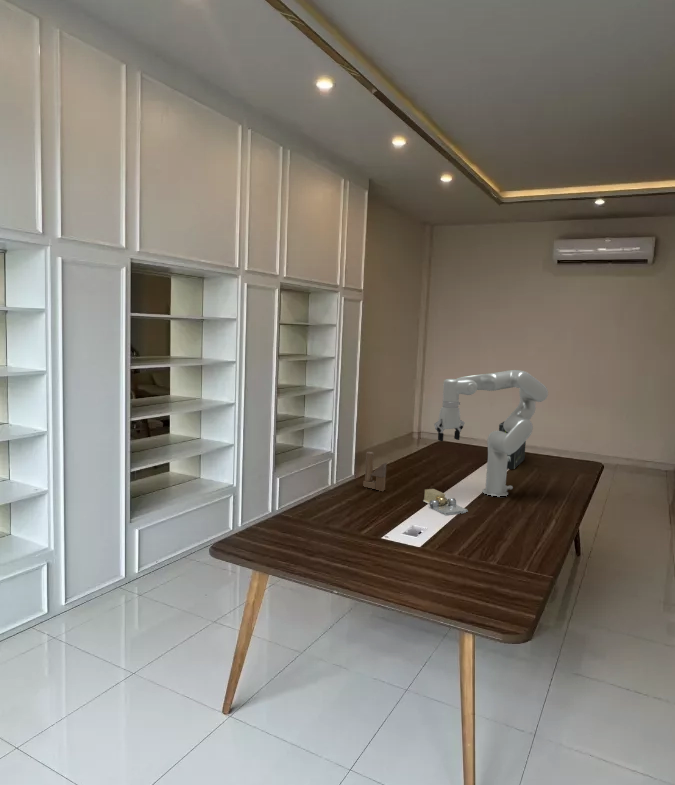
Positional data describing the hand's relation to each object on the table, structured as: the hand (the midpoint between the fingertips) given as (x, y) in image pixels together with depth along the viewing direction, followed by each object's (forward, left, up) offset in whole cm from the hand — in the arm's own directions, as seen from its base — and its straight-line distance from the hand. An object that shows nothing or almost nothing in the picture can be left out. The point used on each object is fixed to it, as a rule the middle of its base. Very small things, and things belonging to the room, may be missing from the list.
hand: (448, 440), depth 276 cm
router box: (-84, -46, -28) cm, 99 cm away
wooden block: (+28, -20, -28) cm, 44 cm away
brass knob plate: (+12, +10, -27) cm, 31 cm away
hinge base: (+12, +19, -27) cm, 36 cm away
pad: (+12, +9, -27) cm, 31 cm away
